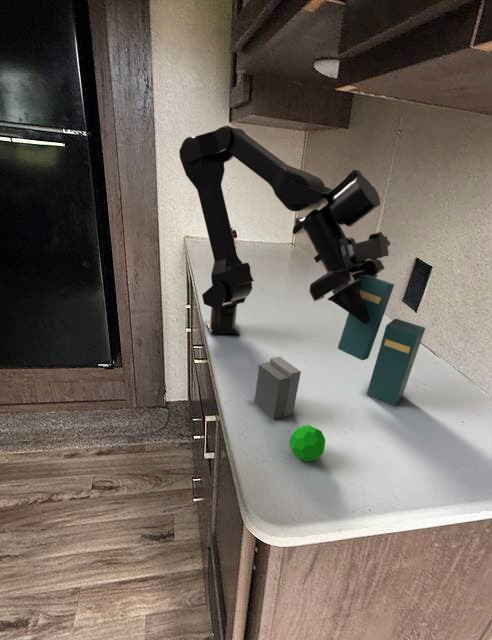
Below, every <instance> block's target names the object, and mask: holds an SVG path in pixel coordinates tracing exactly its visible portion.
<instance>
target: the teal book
mask: <svg viewBox="0 0 492 640" xmlns="http://www.w3.org/2000/svg"><path fill="white" fill-rule="evenodd" d="M359 280H362V282H361V287H360V295H361V297H362V300H363V302H364V305H365V307H366V310H367V313H368V315H369V318H370V322H369V323H367V324H364V323H362V322H361V321H360V320H358V319H357V318H355V317H354V316H353V315H351V314H350V313H349V312H348V314H347V317H346V320H345V324H344V326H343V329H342V333H341V336H340V339H339V342H338V346H337V350H340V351H342V352H343V353H345V354H348V355H351V356H352V357H354V358H356V359H358V360H361V361H366V360H368V359H369V358H370V354H371V352H372V350H373V349H372V348H374V347H373V346H374V343H375V341H376V338H377V335H378V332H379V330H380V326H381V324H382V321H383V318H384V315H385V312H386V310H387V307H388V304H389V301H390V298H391V295H392V292H393V289H394V286H395V284H394V283H391V282H388V281H386V280H383V279H380V278H377V277H376V278H374V277H371V276H368V275H360V278H359Z"/></svg>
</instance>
